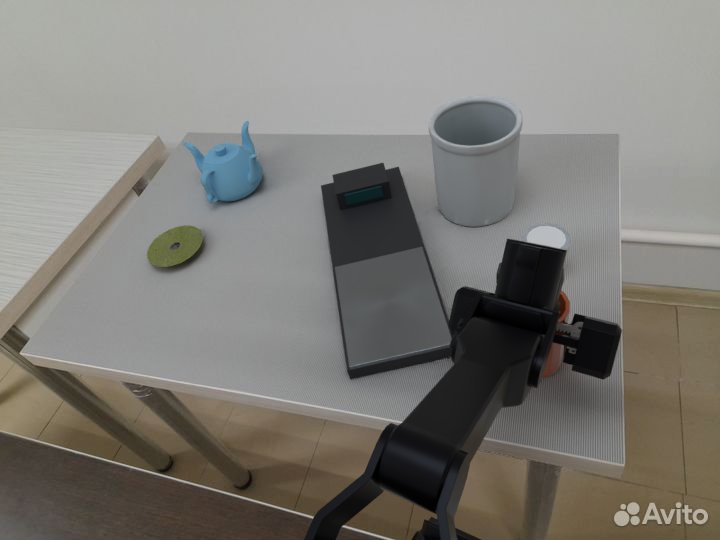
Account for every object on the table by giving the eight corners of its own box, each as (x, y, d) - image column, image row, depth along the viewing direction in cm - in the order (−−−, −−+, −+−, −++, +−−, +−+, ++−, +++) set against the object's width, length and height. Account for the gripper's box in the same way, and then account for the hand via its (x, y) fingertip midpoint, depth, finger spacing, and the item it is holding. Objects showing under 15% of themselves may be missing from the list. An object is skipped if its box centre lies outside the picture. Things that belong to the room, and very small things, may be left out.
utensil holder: (525, 180, 98) (530, 95, 85) (510, 235, 89) (512, 149, 76) (448, 173, 103) (442, 92, 91) (427, 224, 95) (416, 143, 82)
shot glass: (518, 283, 82) (519, 252, 77) (522, 251, 86) (524, 220, 81) (565, 288, 80) (569, 256, 75) (567, 255, 84) (571, 223, 79)
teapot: (207, 217, 109) (186, 178, 101) (201, 177, 119) (181, 139, 112) (274, 194, 110) (258, 153, 102) (262, 156, 120) (247, 117, 113)
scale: (458, 355, 75) (455, 329, 71) (350, 379, 76) (340, 355, 71) (400, 176, 106) (395, 149, 101) (323, 194, 106) (315, 169, 102)
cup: (569, 372, 70) (579, 319, 62) (518, 384, 71) (521, 332, 62) (549, 331, 75) (556, 276, 66) (501, 342, 75) (502, 289, 67)
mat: (152, 242, 106) (147, 235, 105) (205, 225, 107) (201, 218, 105) (150, 280, 99) (145, 273, 97) (207, 262, 99) (203, 255, 98)
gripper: (635, 285, 50) (633, 277, 64) (450, 246, 58) (483, 246, 72) (607, 396, 51) (610, 364, 65) (430, 342, 59) (466, 324, 73)
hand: (539, 321), depth 69 cm, fingers closed on cup, 7 cm apart
